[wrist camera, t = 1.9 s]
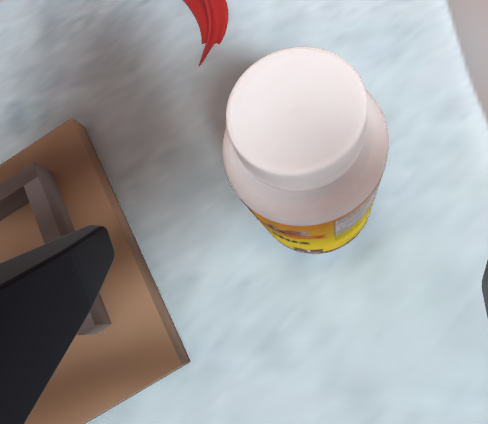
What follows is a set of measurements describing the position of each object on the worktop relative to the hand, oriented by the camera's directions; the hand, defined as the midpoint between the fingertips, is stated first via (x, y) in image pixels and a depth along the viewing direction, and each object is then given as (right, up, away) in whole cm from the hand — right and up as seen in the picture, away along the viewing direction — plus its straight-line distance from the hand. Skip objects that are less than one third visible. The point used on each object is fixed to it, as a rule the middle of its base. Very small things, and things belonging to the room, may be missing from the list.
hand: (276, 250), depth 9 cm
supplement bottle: (+3, +1, +11) cm, 12 cm away
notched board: (-14, -4, +14) cm, 20 cm away
